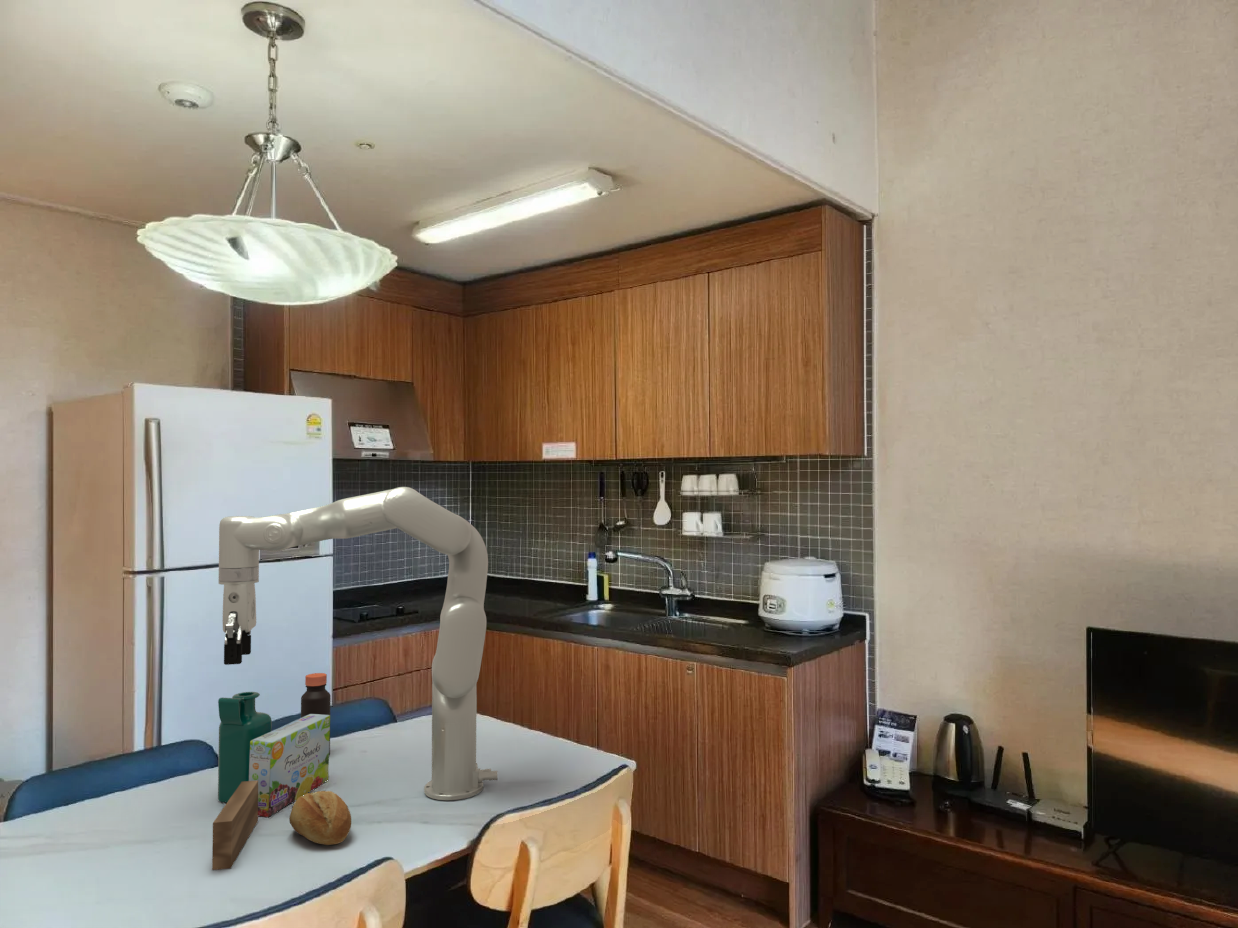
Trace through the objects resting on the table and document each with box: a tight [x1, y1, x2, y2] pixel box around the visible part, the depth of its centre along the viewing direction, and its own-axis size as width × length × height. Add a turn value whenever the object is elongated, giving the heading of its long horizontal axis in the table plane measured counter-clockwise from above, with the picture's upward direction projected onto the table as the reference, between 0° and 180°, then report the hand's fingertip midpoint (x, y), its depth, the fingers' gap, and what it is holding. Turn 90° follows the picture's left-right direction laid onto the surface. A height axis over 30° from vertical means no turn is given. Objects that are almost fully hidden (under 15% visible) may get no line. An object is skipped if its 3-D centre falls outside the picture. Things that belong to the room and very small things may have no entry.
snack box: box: [249, 714, 331, 818], centre depth 168 cm, size 21×6×15 cm, turn 168°
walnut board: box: [211, 780, 259, 871], centre depth 145 cm, size 3×20×8 cm, turn 13°
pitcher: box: [217, 691, 273, 803], centre depth 168 cm, size 10×8×22 cm
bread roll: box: [289, 790, 352, 846], centre depth 149 cm, size 10×15×8 cm, turn 47°
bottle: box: [300, 672, 332, 756], centre depth 194 cm, size 7×7×20 cm
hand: (237, 659), depth 162 cm, fingers open, 9 cm apart
